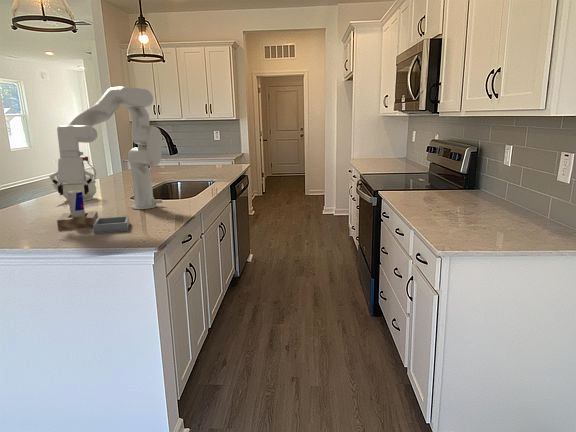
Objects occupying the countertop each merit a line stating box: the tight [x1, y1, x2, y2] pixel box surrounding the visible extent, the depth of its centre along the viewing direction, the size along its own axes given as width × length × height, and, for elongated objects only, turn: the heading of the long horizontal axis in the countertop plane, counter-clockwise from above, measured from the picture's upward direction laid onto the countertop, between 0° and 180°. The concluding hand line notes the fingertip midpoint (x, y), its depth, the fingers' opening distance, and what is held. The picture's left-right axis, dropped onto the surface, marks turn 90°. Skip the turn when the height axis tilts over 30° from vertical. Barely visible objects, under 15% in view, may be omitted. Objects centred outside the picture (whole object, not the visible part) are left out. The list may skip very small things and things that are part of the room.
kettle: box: [51, 156, 97, 202], centre depth 233 cm, size 25×18×25 cm
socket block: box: [56, 210, 99, 230], centre depth 179 cm, size 14×14×4 cm
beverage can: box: [68, 190, 86, 218], centre depth 178 cm, size 6×6×15 cm
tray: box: [92, 215, 130, 234], centre depth 171 cm, size 13×13×4 cm
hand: (74, 194), depth 176 cm, fingers open, 9 cm apart
